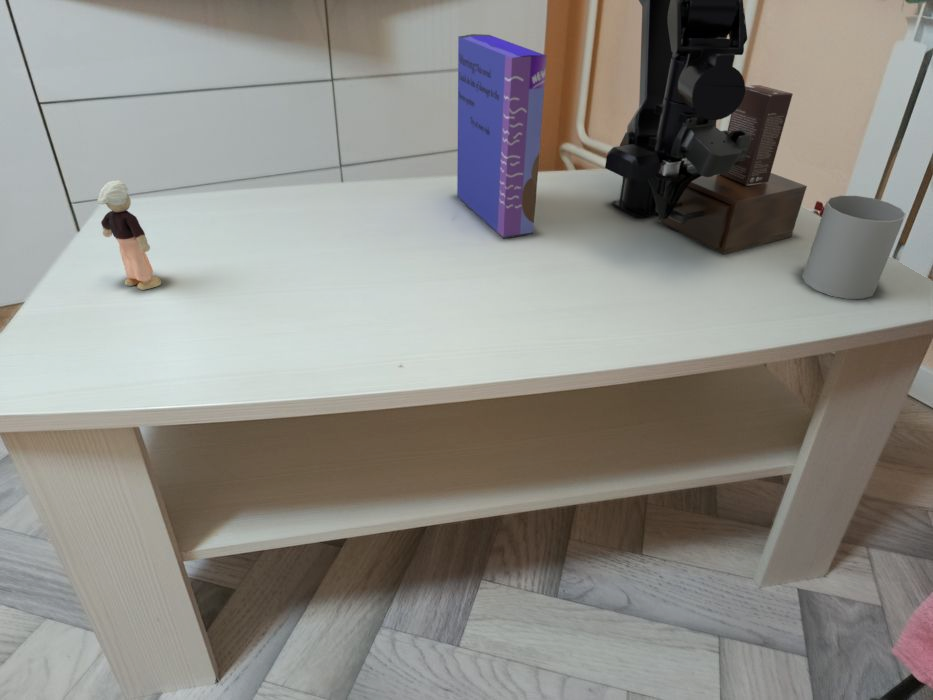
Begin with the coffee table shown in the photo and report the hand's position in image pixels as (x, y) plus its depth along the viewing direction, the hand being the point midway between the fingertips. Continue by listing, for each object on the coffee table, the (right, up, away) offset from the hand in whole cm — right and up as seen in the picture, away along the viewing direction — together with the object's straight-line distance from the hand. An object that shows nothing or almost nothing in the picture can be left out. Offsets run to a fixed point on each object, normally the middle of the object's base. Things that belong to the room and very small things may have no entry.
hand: (663, 218), depth 91 cm
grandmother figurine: (-67, -10, -9) cm, 68 cm away
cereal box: (-23, +3, +11) cm, 25 cm away
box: (+12, +6, +4) cm, 14 cm away
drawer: (+8, 0, +5) cm, 9 cm away
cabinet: (+11, 0, +7) cm, 13 cm away
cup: (+20, -10, -6) cm, 23 cm away
